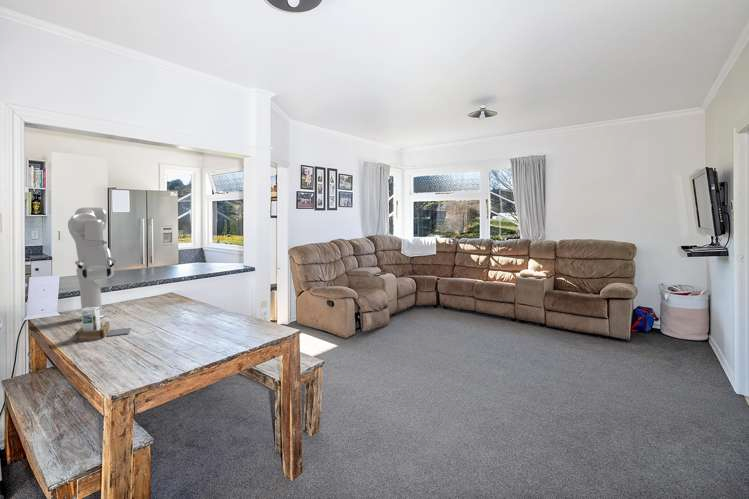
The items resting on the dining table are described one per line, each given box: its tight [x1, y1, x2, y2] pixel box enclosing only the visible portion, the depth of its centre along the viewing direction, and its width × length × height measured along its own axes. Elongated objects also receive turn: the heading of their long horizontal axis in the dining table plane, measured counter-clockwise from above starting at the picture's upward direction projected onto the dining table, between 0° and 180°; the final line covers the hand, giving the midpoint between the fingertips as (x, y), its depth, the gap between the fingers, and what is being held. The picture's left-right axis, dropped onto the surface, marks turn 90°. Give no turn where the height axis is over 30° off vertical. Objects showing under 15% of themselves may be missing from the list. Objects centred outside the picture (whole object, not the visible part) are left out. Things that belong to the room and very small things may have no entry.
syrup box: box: [80, 307, 101, 332], centre depth 189 cm, size 6×6×14 cm
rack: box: [75, 321, 110, 343], centre depth 191 cm, size 16×11×4 cm
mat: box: [106, 327, 132, 337], centre depth 196 cm, size 10×9×1 cm
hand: (97, 276), depth 197 cm, fingers open, 9 cm apart
